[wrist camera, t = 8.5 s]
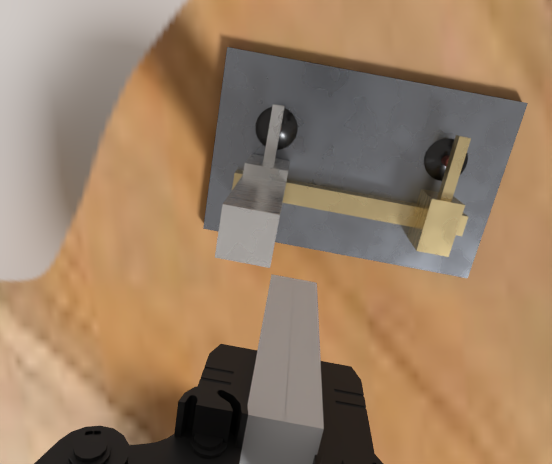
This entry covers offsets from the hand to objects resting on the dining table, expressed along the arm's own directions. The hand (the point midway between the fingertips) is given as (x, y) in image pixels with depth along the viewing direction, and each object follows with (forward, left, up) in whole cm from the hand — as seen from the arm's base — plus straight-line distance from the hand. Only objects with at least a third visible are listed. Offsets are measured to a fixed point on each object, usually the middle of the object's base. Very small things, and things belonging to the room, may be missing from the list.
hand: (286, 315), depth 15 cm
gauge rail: (-2, +4, -22) cm, 23 cm away
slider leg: (-1, -2, -21) cm, 21 cm away
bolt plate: (-2, +4, -22) cm, 23 cm away
